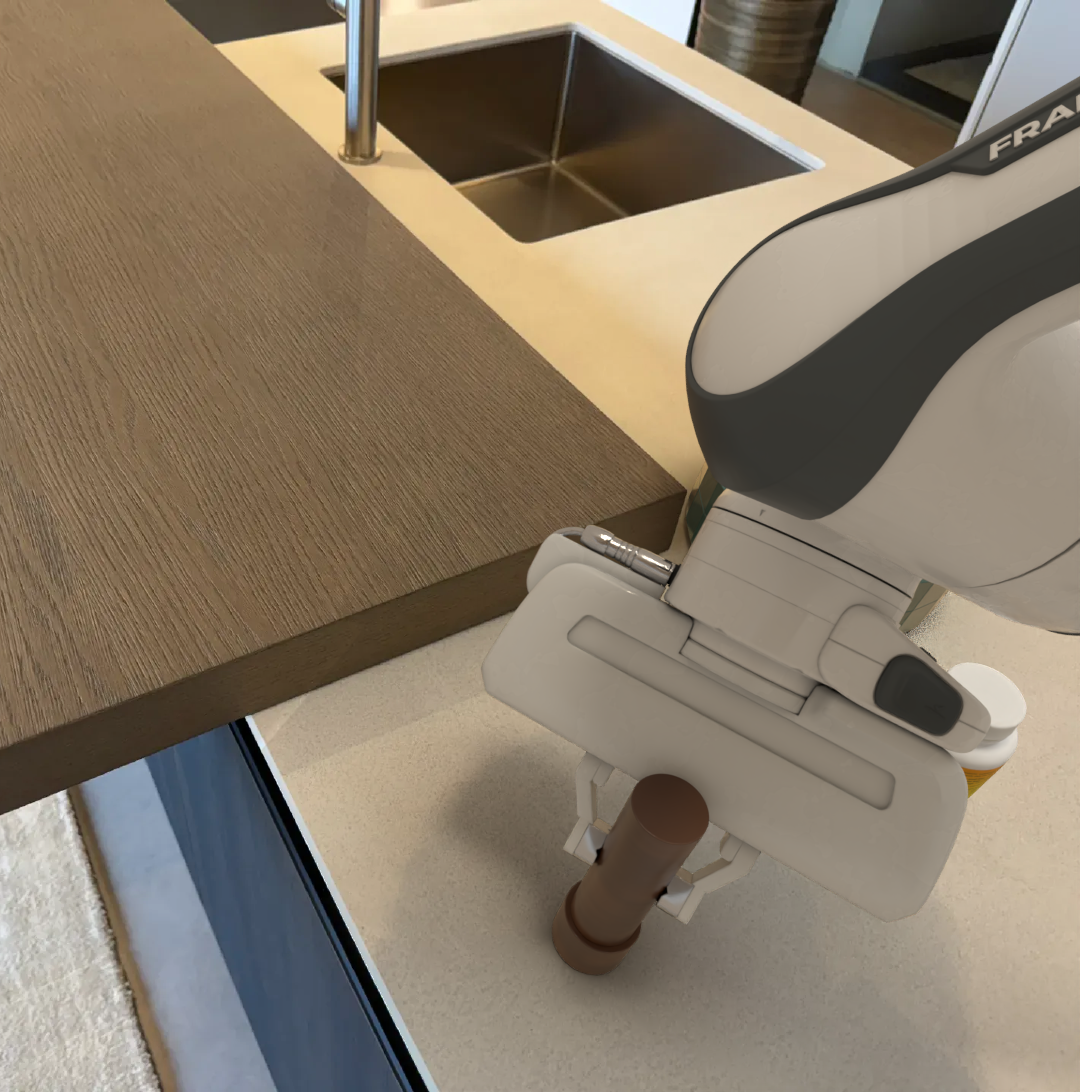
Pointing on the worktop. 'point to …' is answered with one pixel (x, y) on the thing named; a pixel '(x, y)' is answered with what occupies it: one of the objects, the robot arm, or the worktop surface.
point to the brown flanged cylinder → (629, 873)
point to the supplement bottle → (1005, 718)
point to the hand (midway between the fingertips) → (624, 883)
